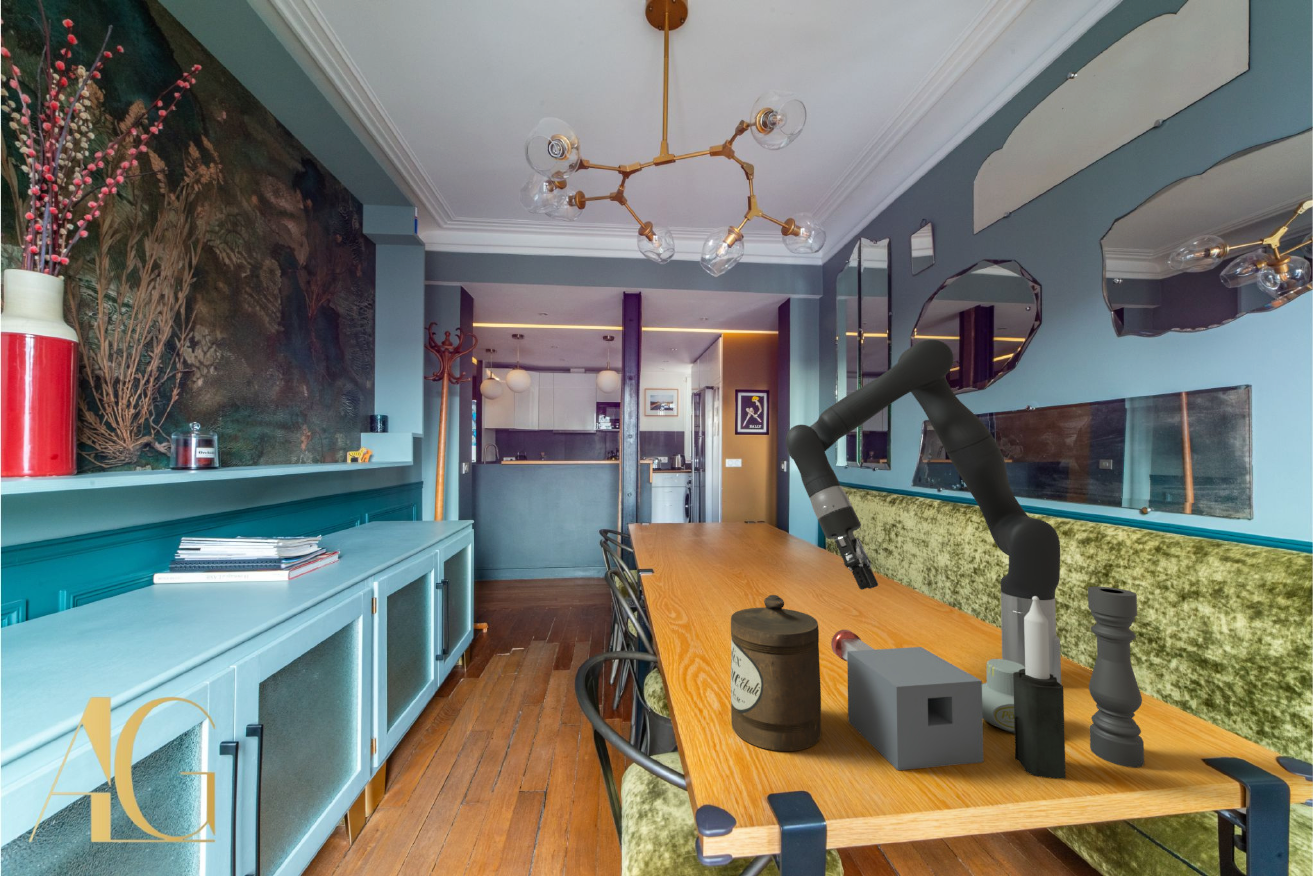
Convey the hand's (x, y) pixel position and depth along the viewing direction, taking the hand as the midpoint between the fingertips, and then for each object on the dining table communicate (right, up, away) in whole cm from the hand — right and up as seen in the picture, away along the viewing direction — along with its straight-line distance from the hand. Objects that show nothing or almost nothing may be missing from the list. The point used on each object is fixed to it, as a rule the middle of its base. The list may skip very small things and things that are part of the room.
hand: (870, 587), depth 102 cm
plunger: (-3, -14, -8) cm, 16 cm away
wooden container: (-22, -20, -15) cm, 33 cm away
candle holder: (+28, -19, -23) cm, 41 cm away
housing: (-1, -19, -19) cm, 27 cm away
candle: (+14, -19, -26) cm, 35 cm away
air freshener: (+18, -20, -13) cm, 30 cm away
